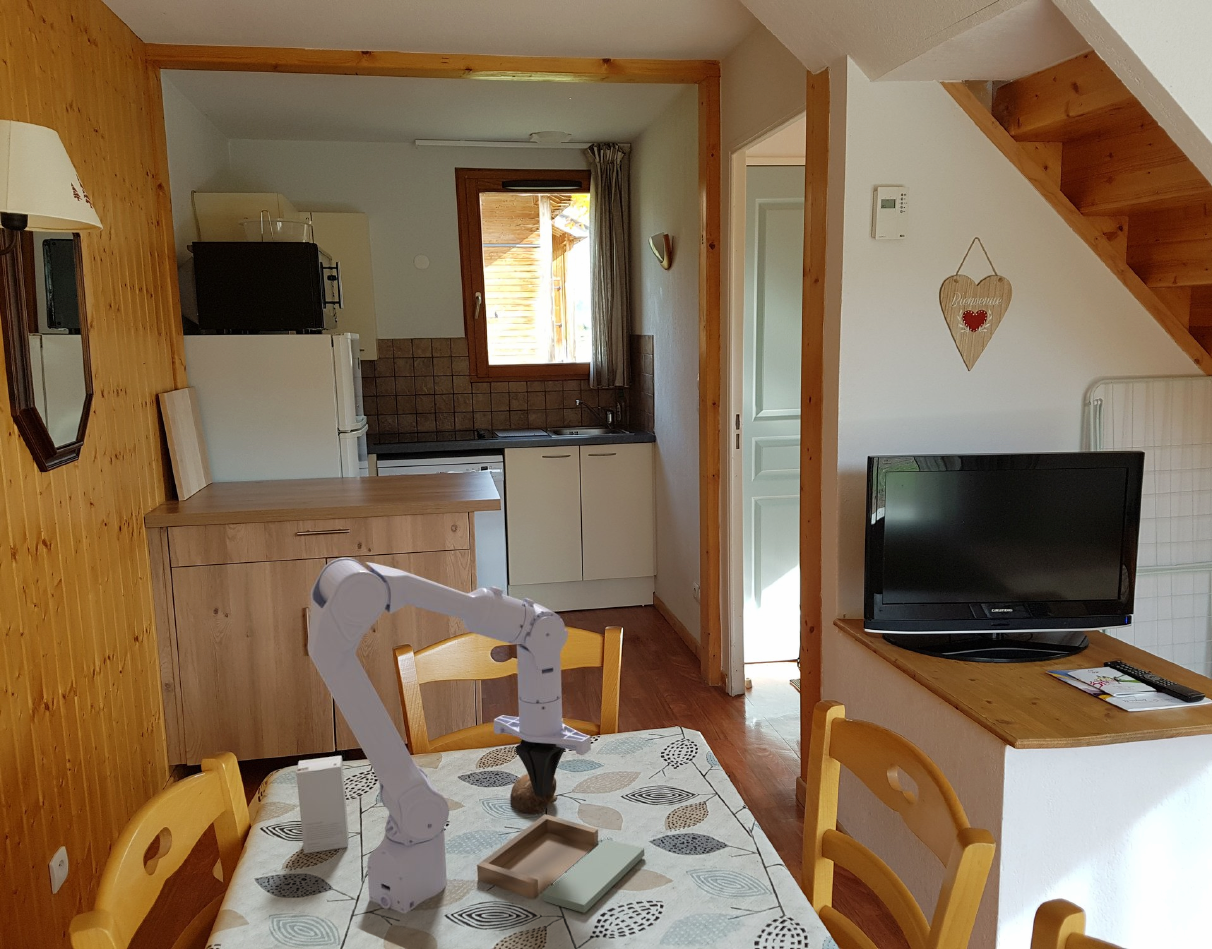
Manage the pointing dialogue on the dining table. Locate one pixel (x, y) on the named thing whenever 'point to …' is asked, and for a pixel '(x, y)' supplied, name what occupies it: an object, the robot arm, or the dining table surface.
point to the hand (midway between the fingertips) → (542, 793)
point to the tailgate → (593, 875)
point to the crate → (537, 856)
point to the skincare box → (322, 804)
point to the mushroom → (530, 797)
